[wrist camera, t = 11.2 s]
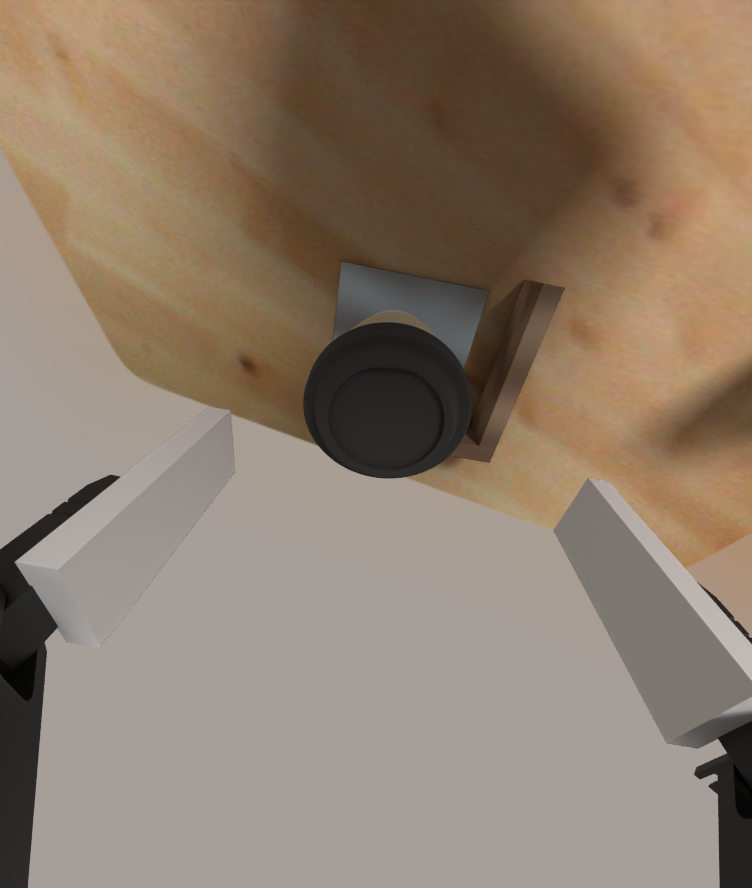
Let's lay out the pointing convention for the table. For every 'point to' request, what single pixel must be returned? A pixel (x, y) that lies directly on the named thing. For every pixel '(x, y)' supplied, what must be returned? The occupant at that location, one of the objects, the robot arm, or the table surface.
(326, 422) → the coffee cup
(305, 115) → the table surface
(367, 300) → the arena
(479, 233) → the table surface
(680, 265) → the table surface
